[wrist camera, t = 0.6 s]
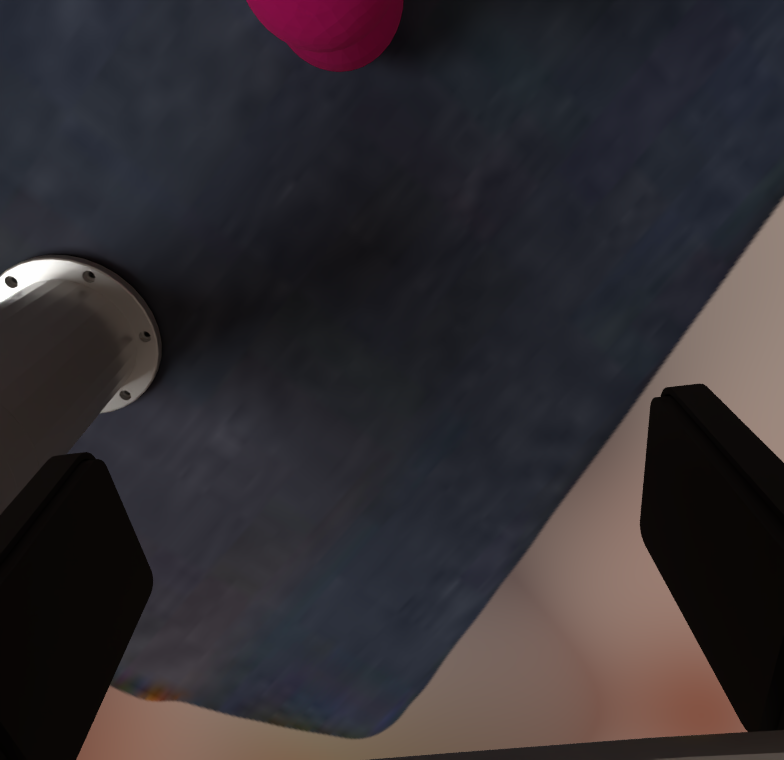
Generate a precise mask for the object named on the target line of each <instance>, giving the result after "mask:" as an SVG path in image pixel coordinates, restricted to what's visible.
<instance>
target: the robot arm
mask: <svg viewBox="0 0 784 760" xmlns="http://www.w3.org/2000/svg"><path fill="white" fill-rule="evenodd" d="M91 272H92V273H93V274H94V275H95V276H93V275H92V274H91ZM146 332H148V333H149V334H150V335H149V334H147V333H146ZM161 357H162V341H161V337H160V332H159V327H158V325H157V323H156V320H155V318H154V315H153V313H152V311H151V310H150V308H149V307H148V305H147V304H146V302H145V301H144V299H143V298H142V297H141V296H140V295H139V293H138V292H137V291H136V290H135V289H134V288H133V287H132V286H131V285H130V284H129V283H127V282H126V281H125V280H124V279H122V278H121V277H120V276H119V275H117V274H116V273H114V272H112V271H111V270H109V269H107V268H105V267H104V266H102V265H100V264H97V263H94V262H92V261H89V260H86V259H84V258H79V257H74V256H69V255H43V256H38V257H32V258H30V259H27V260H25V261H22V262H20V263H18V264H16V265H14V266H12V267H11V268H9V269H7V270H6V271H4V272H3V273H2V274H1V275H0V760H76V758H77V756H78V754H79V752H80V750H81V748H82V745H83V743H84V741H85V739H86V737H87V734H88V732H89V730H90V728H91V725H92V723H93V721H94V719H95V717H96V714H97V712H98V710H99V707H100V705H101V703H102V701H103V699H104V697H105V694H106V692H107V690H108V688H109V685H110V683H111V681H112V679H113V677H114V674H115V672H116V670H117V668H118V665H119V663H120V661H121V659H122V657H123V654H124V652H125V650H126V648H127V645H128V643H129V641H130V639H131V637H132V634H133V632H134V630H135V628H136V625H137V623H138V621H139V619H140V617H141V614H142V612H143V610H144V608H145V605H146V603H147V601H148V599H149V597H150V594H151V591H152V587H153V575H152V571H151V569H150V566H149V564H148V562H147V559H146V557H145V555H144V552H143V550H142V548H141V545H140V543H139V541H138V538H137V536H136V534H135V531H134V529H133V527H132V524H131V522H130V520H129V517H128V515H127V513H126V510H125V508H124V506H123V503H122V501H121V499H120V496H119V494H118V492H117V489H116V487H115V485H114V482H113V480H112V478H111V475H110V473H109V471H108V469H107V466H106V465H105V463H104V462H103V461H102V460H99V459H96V458H95V457H94V456H93V455H92V454H91V453H87V452H84V453H75V454H67V453H68V452H69V450H70V449H71V448H72V447H73V445H74V444H75V443H76V442H77V441H78V439H79V438H80V437H81V436H82V434H83V433H84V432H85V431H86V430H87V428H88V427H89V426H90V425H91V423H92V422H93V421H94V420H95V419H96V417H97V416H98V415H99V414H100V413H106V412H112V411H115V410H118V409H120V408H123V407H125V406H127V405H129V404H130V403H132V402H134V401H135V400H137V399H138V398H139V397H140V396H141V395H142V394H143V393H144V392H145V391H146V390H147V388H148V387H149V386H150V384H151V383H152V382H153V380H154V378H155V376H156V374H157V372H158V370H159V366H160V361H161ZM640 530H641V535H642V538H643V541H644V544H645V546H646V548H647V549H648V551H649V553H650V555H651V557H652V559H653V560H654V562H655V564H656V566H657V568H658V570H659V572H660V574H661V575H662V577H663V579H664V581H665V583H666V585H667V586H668V588H669V590H670V592H671V594H672V596H673V598H674V599H675V601H676V603H677V605H678V606H679V609H680V610H681V612H682V614H683V616H684V618H685V620H686V621H687V623H688V625H689V627H690V629H691V630H692V633H693V634H694V636H695V638H696V640H697V642H698V644H699V645H700V647H701V649H702V651H703V653H704V654H705V656H706V658H707V660H708V662H709V664H710V666H711V668H712V669H713V671H714V673H715V675H716V677H717V679H718V680H719V682H720V684H721V686H722V688H723V690H724V692H725V693H726V695H727V697H728V699H729V701H730V702H731V704H732V706H733V708H734V710H735V712H736V714H737V715H738V717H739V719H740V721H741V723H742V724H743V726H744V727H745V729H746V730H747V731H748V732H742V733H725V734H709V735H691V736H675V737H658V738H642V739H629V740H616V741H603V742H591V743H577V744H564V745H550V746H538V747H524V748H511V749H498V750H485V751H472V752H459V753H446V754H434V755H421V756H408V757H396V758H384V759H371V760H784V463H783V462H782V461H781V460H780V459H779V458H778V457H777V456H776V455H775V454H774V453H773V452H772V451H771V450H770V449H769V448H768V447H767V446H766V445H765V444H764V443H763V442H762V441H761V440H760V439H759V438H758V437H757V436H756V435H755V434H754V433H753V432H752V431H751V430H750V429H749V428H748V427H747V426H746V425H745V424H744V423H743V422H742V421H741V420H740V419H739V418H738V417H737V416H736V415H735V414H734V413H733V412H732V411H731V410H730V409H729V408H728V407H727V406H726V405H725V404H724V403H723V402H722V401H721V400H720V399H719V398H718V397H717V396H716V395H715V394H714V393H713V392H712V391H711V390H710V389H709V388H708V387H707V386H705V385H704V384H693V385H684V386H675V387H667V388H665V389H664V390H663V392H662V394H661V397H655V398H653V400H652V402H651V406H650V416H649V427H648V438H647V449H646V461H645V472H644V483H643V494H642V505H641V516H640Z"/></svg>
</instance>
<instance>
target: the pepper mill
mask: <svg viewBox="0 0 784 760" xmlns="http://www.w3.org/2000/svg"><path fill="white" fill-rule="evenodd" d="M246 1H247V3H248V5H249V7H250V8H251V10H252V11H253V12H254V14H255V15H256V17H257V18H258V19H259V21H260V22H261V23H262V24H263V25H264V26H265V27H266V28H267V29H268V30H269V31H270V32H271V33H273V34H274V35H275V36H277V37H278V38H279V39H280V40H282V41H284V42H286V43H287V44H288V45H289V47H290V48H291V49H292V50H293V51H294V52H295V53H296V54H297V55H298V56H299V57H300V58H302V59H303V60H305V61H306V62H308V63H309V64H311V65H313V66H315V67H318V68H320V69H324V70H328V71H336V72H343V71H352V70H355V69H358V68H361V67H364V66H365V65H367V64H369V63H370V62H372V61H373V60H375V59H376V58H377V57H378V56H380V55H381V54H382V52H383V51H384V50H385V49H386V48H387V46H388V45H389V44H390V42H391V41H392V39H393V37H394V35H395V33H396V31H397V29H398V26H399V23H400V20H401V15H402V11H403V1H404V0H246Z"/></svg>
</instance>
